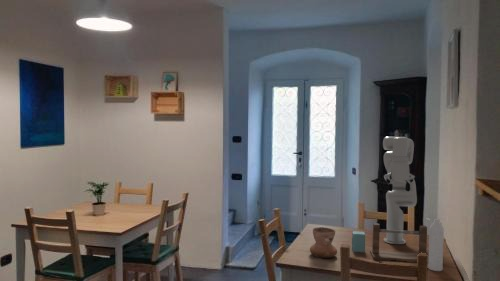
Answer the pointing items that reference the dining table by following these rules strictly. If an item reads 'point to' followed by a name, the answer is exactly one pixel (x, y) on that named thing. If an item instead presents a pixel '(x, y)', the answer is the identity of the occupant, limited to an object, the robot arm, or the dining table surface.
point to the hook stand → (396, 255)
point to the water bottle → (435, 245)
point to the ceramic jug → (323, 243)
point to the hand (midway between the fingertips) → (399, 190)
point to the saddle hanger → (358, 241)
